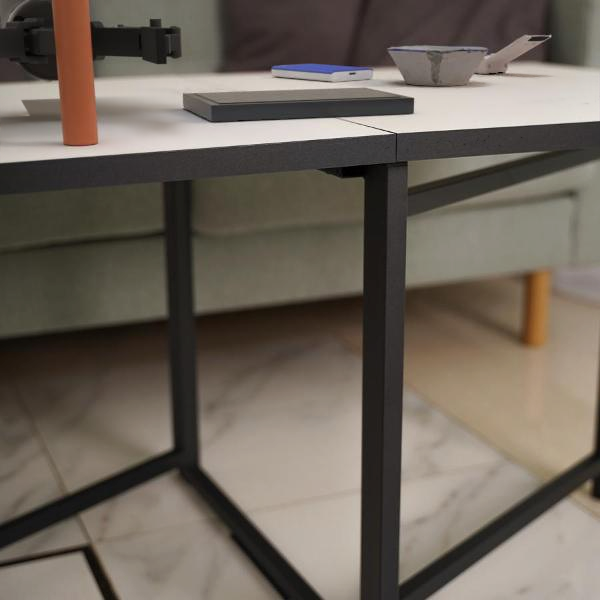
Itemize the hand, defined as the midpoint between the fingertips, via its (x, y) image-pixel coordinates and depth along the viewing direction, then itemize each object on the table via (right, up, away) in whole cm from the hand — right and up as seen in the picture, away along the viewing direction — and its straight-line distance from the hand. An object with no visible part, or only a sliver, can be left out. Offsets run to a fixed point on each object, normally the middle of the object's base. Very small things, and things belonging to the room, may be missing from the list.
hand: (72, 47), depth 69 cm
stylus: (0, -7, 0) cm, 7 cm away
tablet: (+17, 0, +21) cm, 27 cm away
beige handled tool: (+44, +16, +71) cm, 85 cm away
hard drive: (+20, +12, +61) cm, 65 cm away
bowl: (+35, +9, +51) cm, 63 cm away
